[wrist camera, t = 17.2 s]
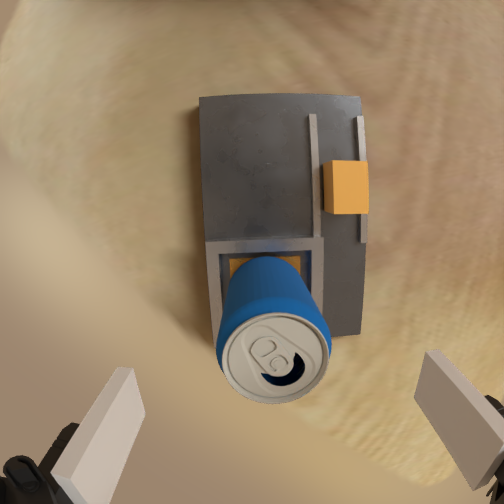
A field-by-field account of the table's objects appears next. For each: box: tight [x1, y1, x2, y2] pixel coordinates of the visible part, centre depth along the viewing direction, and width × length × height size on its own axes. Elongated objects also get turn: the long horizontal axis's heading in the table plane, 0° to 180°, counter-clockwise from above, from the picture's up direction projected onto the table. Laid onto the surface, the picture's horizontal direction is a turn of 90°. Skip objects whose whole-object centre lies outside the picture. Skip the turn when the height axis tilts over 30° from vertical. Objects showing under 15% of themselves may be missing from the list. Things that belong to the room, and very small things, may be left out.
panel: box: [199, 93, 367, 348], centre depth 27 cm, size 22×14×4 cm, turn 2°
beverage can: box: [216, 256, 332, 404], centre depth 22 cm, size 6×6×12 cm
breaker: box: [323, 160, 369, 214], centre depth 24 cm, size 4×3×3 cm
